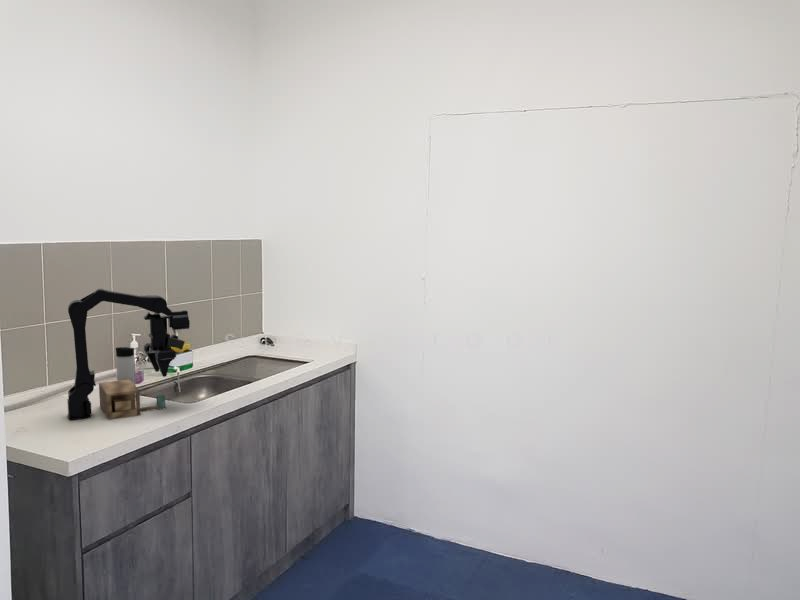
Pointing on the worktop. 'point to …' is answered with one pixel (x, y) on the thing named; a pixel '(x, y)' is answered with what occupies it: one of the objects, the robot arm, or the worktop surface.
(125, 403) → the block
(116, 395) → the brown wooden box
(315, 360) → the worktop surface
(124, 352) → the travel mug
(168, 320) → the robot arm
